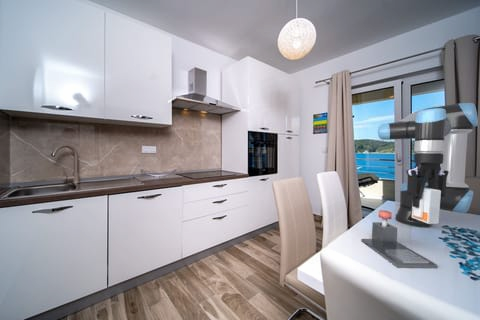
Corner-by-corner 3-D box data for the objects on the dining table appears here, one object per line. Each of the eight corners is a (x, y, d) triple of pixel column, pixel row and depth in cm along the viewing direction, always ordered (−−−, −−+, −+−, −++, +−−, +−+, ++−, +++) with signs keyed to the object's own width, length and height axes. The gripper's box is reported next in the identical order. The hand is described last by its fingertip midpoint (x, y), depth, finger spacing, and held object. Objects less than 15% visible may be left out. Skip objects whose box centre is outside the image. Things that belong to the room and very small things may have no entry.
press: (392, 241, 83) (393, 221, 83) (437, 268, 64) (438, 242, 64) (361, 241, 83) (362, 221, 83) (397, 267, 64) (398, 242, 64)
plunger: (385, 233, 81) (386, 210, 80) (393, 238, 77) (394, 213, 76) (375, 233, 81) (376, 210, 80) (382, 238, 77) (384, 213, 76)
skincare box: (410, 217, 70) (412, 186, 69) (421, 217, 70) (423, 187, 70) (428, 224, 64) (430, 190, 63) (439, 224, 64) (441, 190, 64)
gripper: (440, 152, 70) (436, 213, 71) (395, 152, 70) (392, 212, 71) (464, 153, 63) (460, 220, 64) (414, 152, 62) (411, 219, 63)
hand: (424, 216), depth 67 cm, fingers closed on skincare box, 4 cm apart
